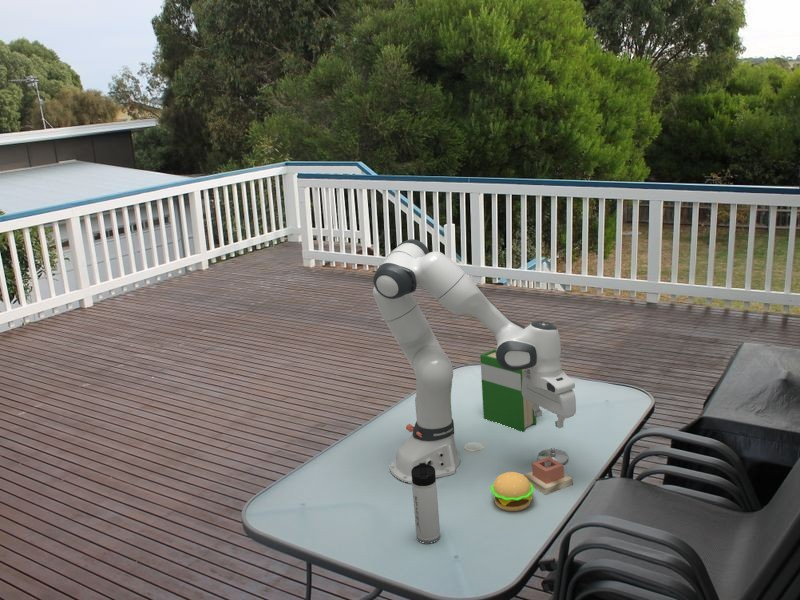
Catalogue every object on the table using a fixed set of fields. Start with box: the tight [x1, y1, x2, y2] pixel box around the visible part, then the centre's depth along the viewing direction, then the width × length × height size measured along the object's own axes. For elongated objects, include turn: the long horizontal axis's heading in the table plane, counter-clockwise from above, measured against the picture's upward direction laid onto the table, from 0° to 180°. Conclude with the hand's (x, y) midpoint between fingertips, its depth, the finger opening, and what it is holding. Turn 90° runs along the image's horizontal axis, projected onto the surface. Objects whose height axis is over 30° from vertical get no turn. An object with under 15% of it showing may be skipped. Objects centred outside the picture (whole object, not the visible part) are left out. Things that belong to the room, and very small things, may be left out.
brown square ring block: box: [531, 457, 565, 484], centre depth 216 cm, size 6×6×4 cm
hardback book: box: [479, 349, 537, 433], centre depth 256 cm, size 18×7×24 cm, turn 42°
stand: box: [523, 461, 574, 496], centre depth 216 cm, size 10×10×6 cm
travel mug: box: [411, 463, 441, 544], centre depth 192 cm, size 6×7×20 cm
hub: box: [537, 447, 569, 465], centre depth 229 cm, size 9×9×4 cm
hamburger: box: [489, 471, 535, 512], centre depth 207 cm, size 12×12×9 cm
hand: (548, 421), depth 214 cm, fingers open, 8 cm apart
